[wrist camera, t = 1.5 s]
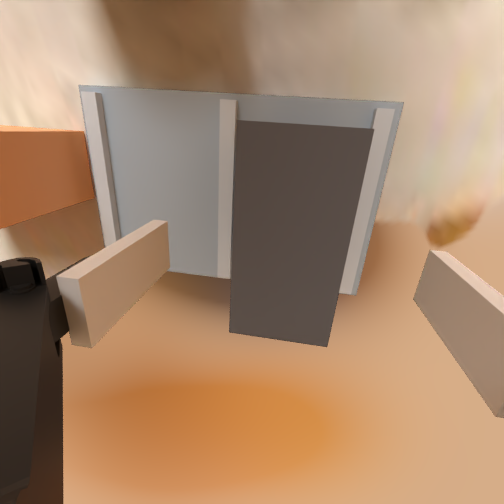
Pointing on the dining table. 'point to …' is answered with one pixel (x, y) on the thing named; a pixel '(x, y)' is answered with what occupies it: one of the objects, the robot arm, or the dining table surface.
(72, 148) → the terracotta block
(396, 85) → the dining table surface
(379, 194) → the grey flat panel
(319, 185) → the grey rectangular block
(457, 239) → the dining table surface
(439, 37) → the dining table surface
